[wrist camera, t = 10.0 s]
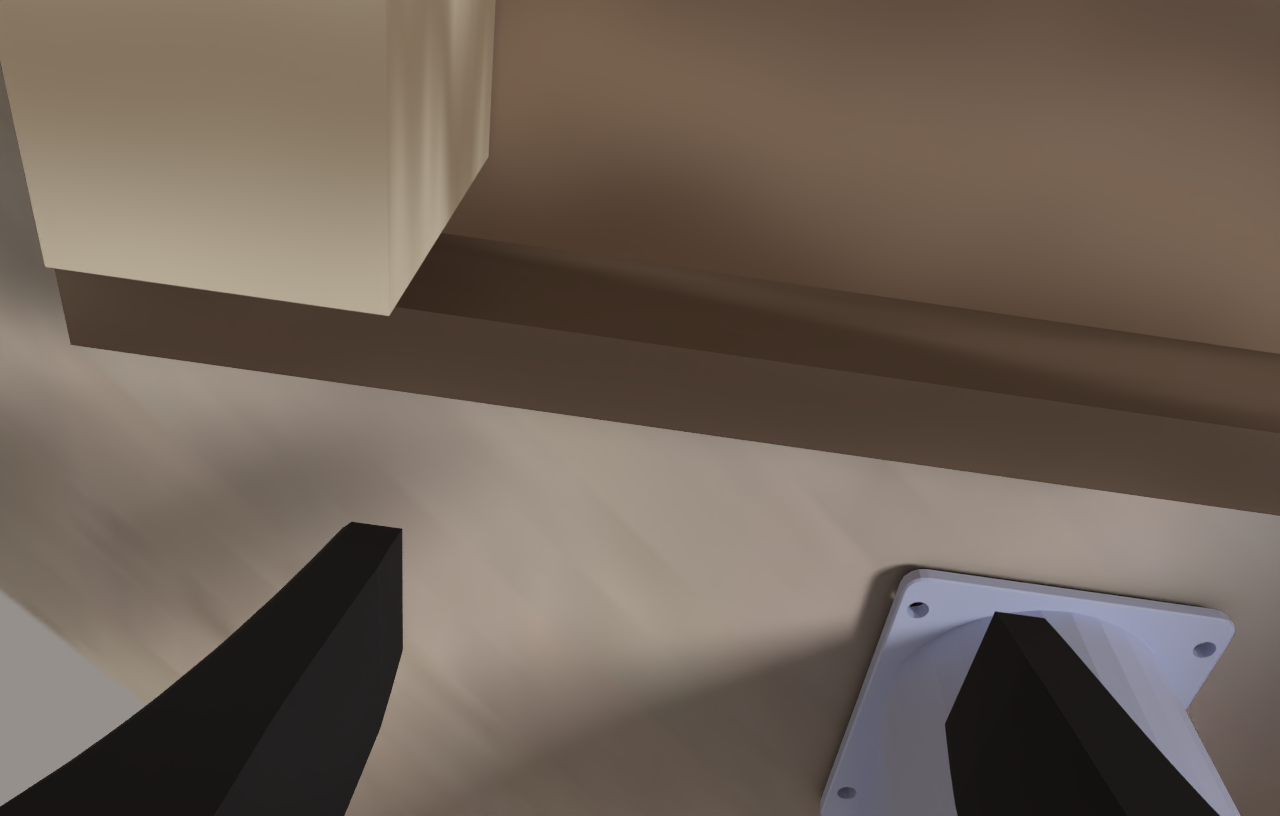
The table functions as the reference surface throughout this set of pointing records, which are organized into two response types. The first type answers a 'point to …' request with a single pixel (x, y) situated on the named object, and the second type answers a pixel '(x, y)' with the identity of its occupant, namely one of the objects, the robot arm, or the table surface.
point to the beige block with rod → (249, 138)
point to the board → (842, 240)
